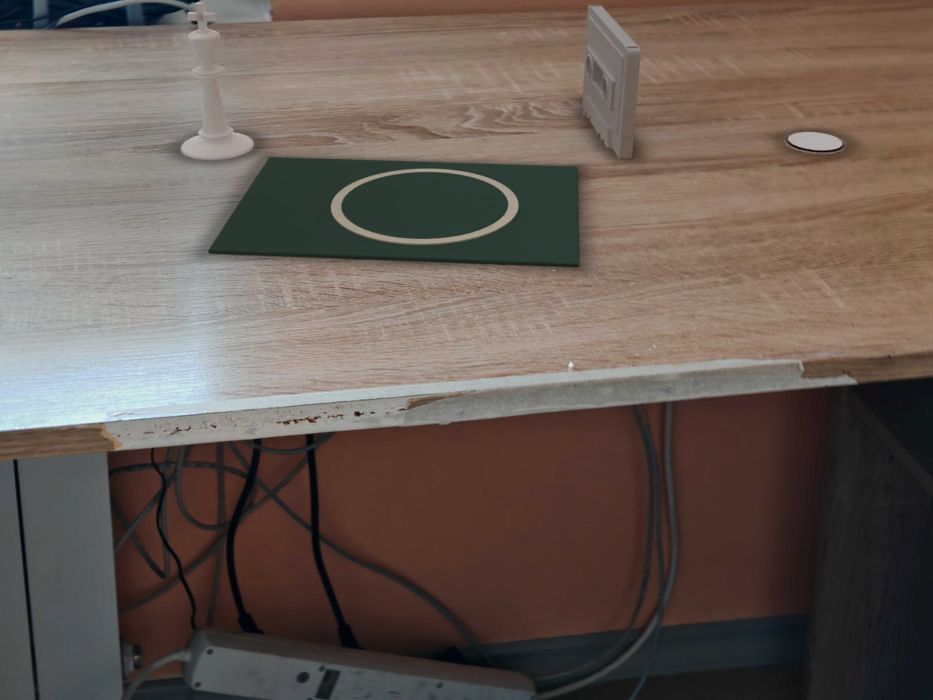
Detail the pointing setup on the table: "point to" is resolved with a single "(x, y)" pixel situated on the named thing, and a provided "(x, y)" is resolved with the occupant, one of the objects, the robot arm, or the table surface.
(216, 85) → the chess piece
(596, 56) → the cassette
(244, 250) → the desk mat
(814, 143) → the white rimmed disc
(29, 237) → the table surface
